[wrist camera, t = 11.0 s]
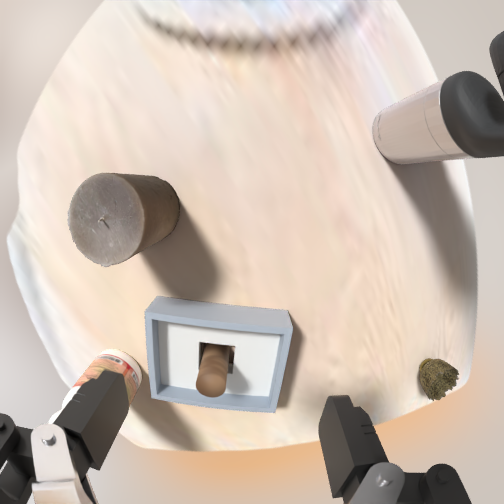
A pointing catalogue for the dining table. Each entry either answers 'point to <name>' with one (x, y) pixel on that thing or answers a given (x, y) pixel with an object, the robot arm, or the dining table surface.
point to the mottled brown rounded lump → (437, 377)
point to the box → (217, 332)
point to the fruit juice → (111, 362)
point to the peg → (213, 370)
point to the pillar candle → (121, 215)
